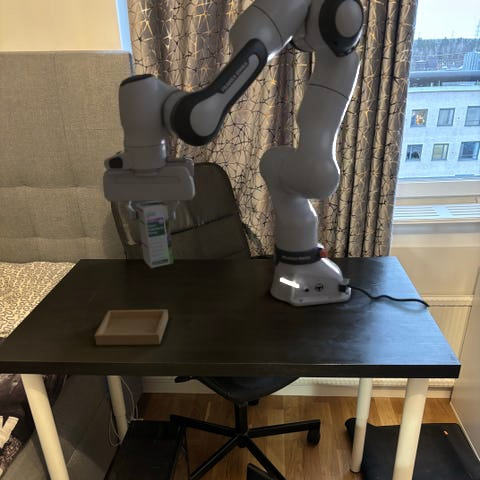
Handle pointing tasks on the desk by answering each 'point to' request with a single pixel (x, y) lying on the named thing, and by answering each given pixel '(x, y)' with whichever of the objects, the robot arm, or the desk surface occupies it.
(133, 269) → the desk surface
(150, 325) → the tray
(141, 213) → the syrup box
